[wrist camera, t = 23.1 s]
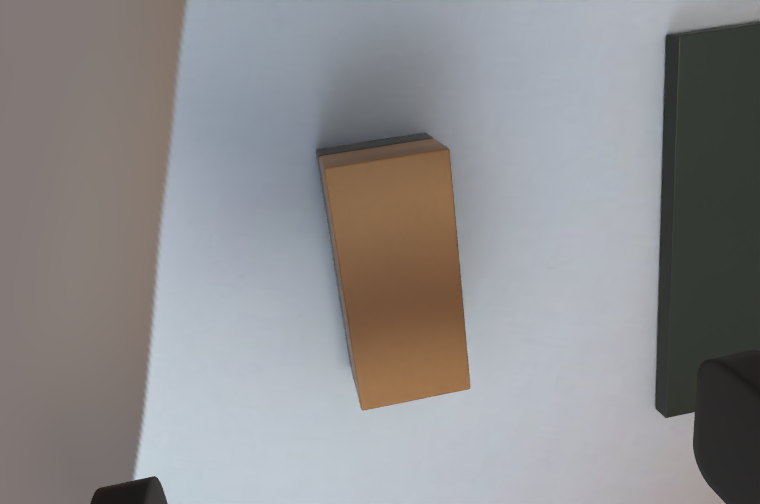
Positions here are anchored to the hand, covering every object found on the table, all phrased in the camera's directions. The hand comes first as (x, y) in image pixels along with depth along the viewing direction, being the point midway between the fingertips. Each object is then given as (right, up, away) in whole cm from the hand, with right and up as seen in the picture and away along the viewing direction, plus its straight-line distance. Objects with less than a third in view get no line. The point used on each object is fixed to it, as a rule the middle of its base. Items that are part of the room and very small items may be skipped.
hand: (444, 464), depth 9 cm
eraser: (-1, +3, +21) cm, 21 cm away
